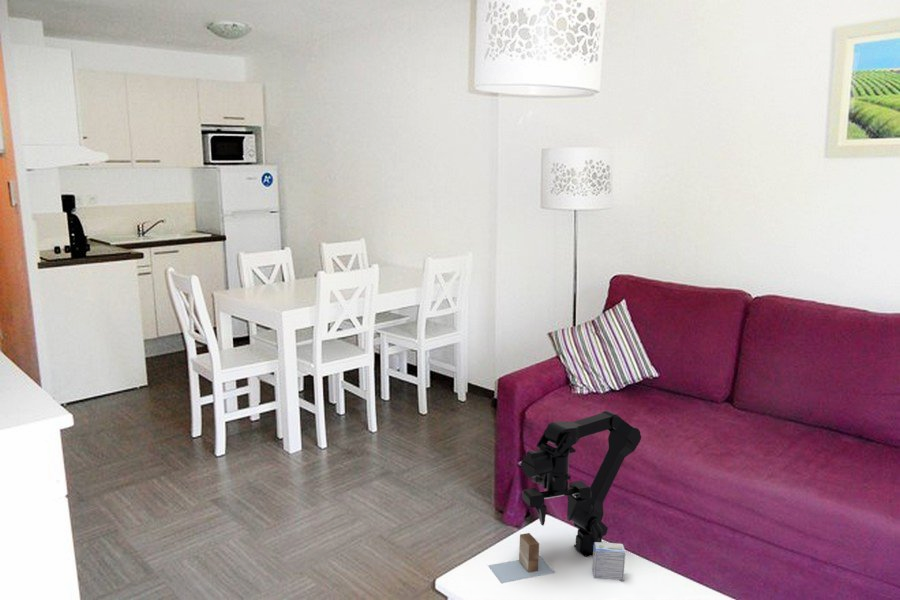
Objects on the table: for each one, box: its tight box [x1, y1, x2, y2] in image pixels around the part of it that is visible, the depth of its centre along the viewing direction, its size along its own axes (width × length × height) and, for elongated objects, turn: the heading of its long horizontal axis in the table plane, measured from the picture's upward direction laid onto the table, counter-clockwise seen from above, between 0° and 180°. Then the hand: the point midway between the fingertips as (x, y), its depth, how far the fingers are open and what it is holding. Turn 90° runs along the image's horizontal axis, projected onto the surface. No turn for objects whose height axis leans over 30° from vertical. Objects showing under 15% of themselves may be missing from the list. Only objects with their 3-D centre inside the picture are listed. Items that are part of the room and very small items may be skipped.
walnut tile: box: [518, 532, 540, 573], centre depth 190 cm, size 3×6×8 cm, turn 20°
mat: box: [487, 555, 556, 584], centre depth 189 cm, size 16×9×1 cm, turn 110°
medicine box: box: [591, 541, 626, 582], centre depth 187 cm, size 8×4×9 cm, turn 84°
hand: (555, 522), depth 192 cm, fingers open, 8 cm apart
